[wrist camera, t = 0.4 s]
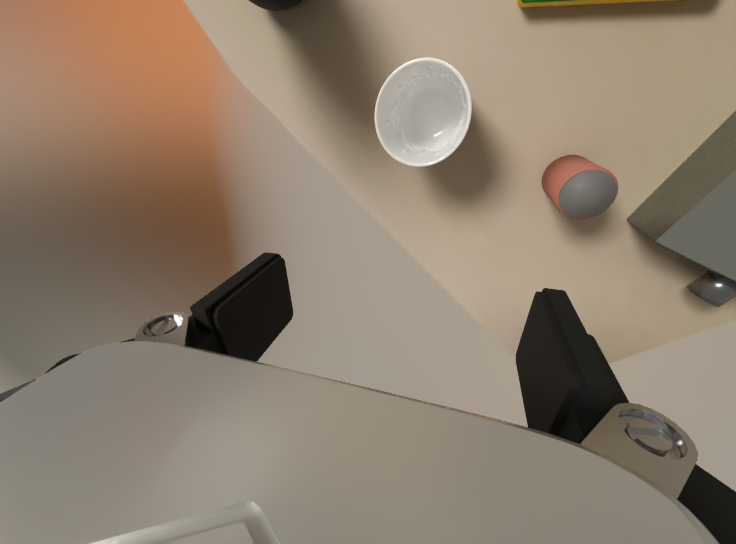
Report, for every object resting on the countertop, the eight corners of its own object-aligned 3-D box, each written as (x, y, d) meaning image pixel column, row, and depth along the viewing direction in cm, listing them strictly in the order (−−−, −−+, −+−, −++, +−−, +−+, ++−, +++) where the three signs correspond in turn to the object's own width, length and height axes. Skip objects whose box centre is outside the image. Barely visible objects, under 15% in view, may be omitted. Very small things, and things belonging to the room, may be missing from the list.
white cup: (484, 121, 32) (490, 129, 23) (421, 164, 36) (406, 184, 27) (447, 49, 30) (438, 30, 21) (384, 103, 34) (356, 105, 25)
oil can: (562, 147, 31) (583, 158, 25) (602, 166, 31) (633, 183, 25) (532, 187, 33) (545, 205, 28) (569, 205, 33) (590, 228, 27)
